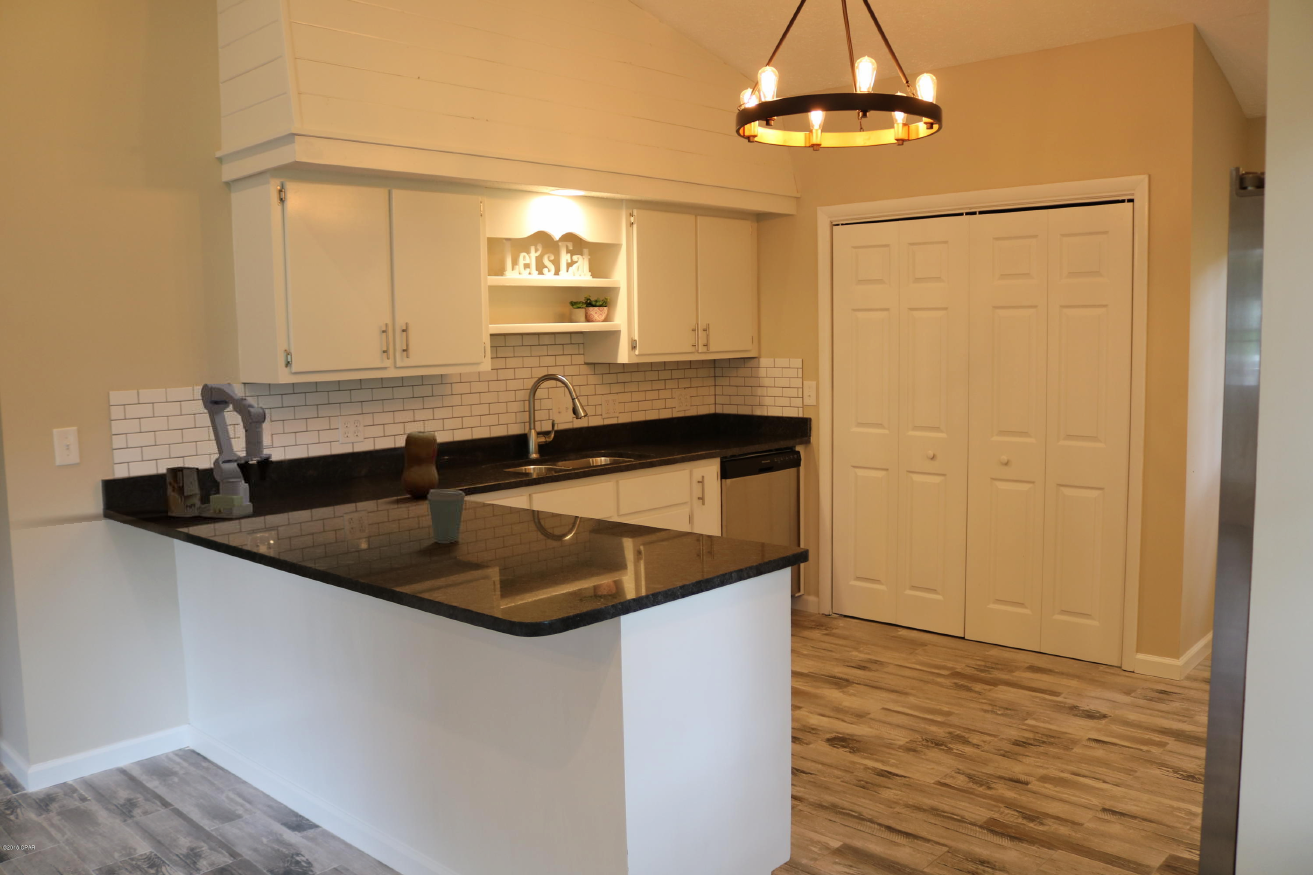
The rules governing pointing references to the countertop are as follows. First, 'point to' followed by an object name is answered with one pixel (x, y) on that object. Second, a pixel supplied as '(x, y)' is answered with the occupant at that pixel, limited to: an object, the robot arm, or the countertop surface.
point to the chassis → (225, 511)
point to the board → (225, 501)
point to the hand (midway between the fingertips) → (255, 482)
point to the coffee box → (183, 491)
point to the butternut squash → (420, 464)
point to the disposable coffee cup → (446, 514)
